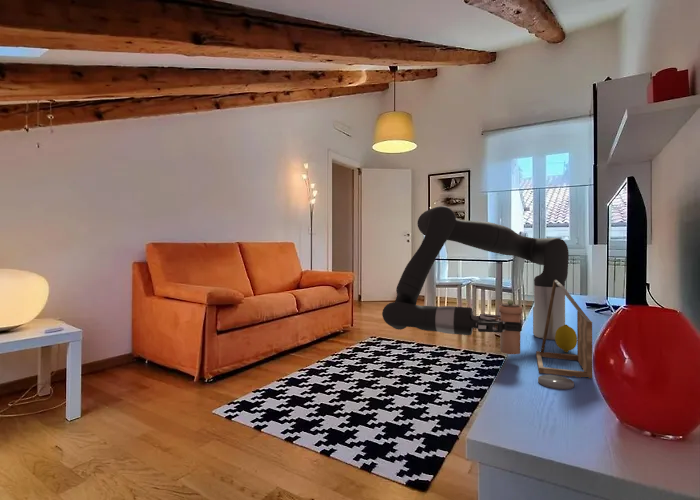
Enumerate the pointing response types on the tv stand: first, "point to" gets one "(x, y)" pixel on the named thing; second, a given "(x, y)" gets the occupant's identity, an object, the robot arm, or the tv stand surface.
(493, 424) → the tv stand surface
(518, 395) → the tv stand surface
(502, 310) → the pot
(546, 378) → the grey-brown flat disc
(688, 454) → the tv stand surface
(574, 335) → the lemon
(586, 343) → the cold frame
